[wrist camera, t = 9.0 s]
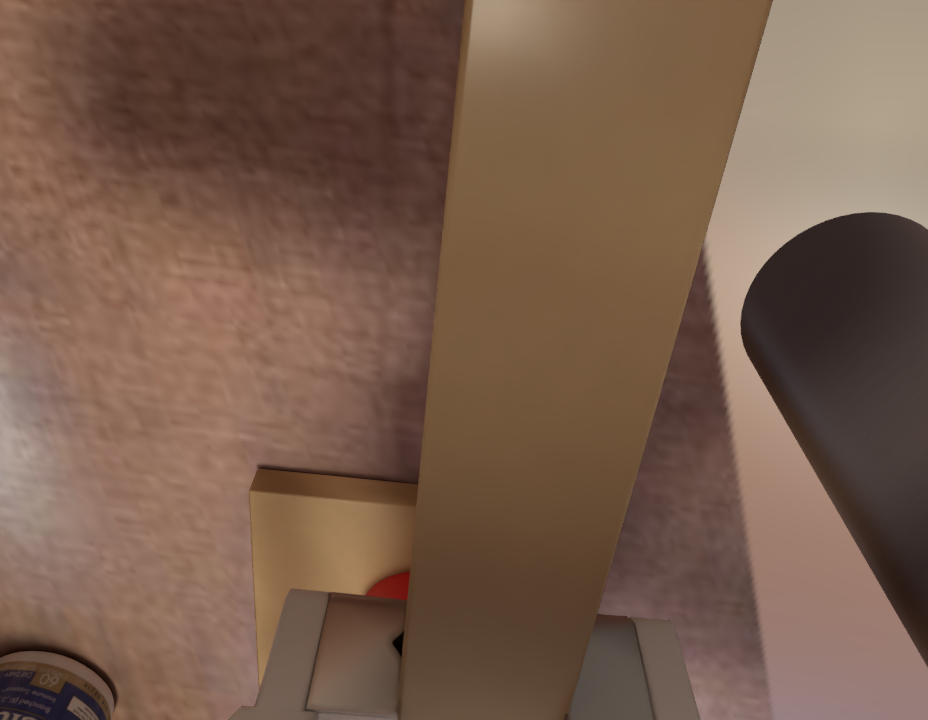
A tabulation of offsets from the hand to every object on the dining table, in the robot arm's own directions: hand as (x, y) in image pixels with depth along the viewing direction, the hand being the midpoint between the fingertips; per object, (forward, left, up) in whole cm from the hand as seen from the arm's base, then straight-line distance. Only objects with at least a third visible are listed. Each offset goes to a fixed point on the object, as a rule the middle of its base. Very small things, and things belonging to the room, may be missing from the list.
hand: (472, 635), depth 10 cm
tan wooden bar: (0, +1, -2) cm, 2 cm away
